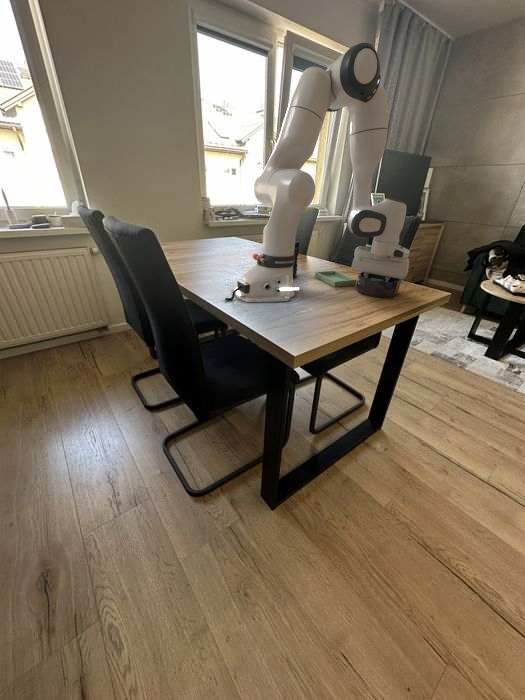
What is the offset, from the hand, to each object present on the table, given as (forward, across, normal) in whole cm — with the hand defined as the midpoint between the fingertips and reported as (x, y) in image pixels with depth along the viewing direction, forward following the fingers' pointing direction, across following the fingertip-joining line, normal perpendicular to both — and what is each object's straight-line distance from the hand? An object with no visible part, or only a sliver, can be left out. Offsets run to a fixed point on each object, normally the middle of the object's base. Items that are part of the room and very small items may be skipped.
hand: (374, 285), depth 110 cm
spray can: (+3, -7, +16) cm, 18 cm away
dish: (+2, -18, +4) cm, 18 cm away
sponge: (+2, 0, 0) cm, 2 cm away
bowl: (+2, +1, +1) cm, 3 cm away
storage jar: (+3, -38, -4) cm, 38 cm away
